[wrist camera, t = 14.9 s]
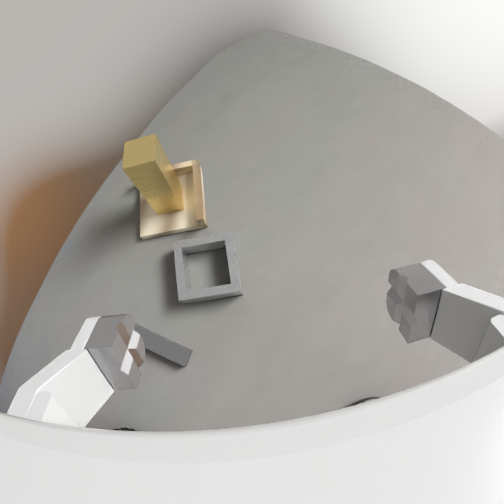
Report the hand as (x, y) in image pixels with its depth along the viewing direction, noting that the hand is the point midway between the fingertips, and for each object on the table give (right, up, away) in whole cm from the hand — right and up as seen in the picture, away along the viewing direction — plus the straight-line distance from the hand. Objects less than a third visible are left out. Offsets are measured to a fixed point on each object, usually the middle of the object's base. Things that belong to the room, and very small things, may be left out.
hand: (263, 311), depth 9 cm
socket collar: (-7, -1, +36) cm, 37 cm away
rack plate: (-14, +10, +40) cm, 44 cm away
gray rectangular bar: (-14, -12, +34) cm, 38 cm away
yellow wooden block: (-14, +10, +39) cm, 43 cm away
